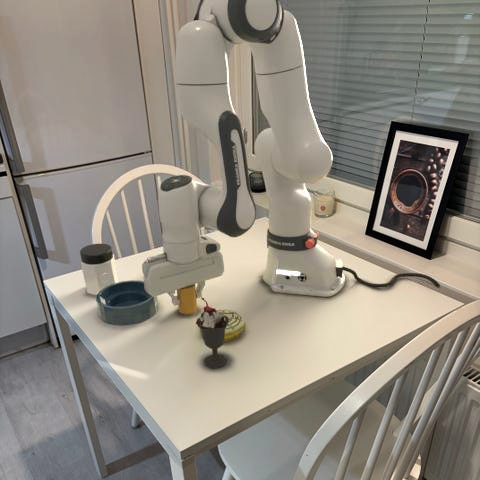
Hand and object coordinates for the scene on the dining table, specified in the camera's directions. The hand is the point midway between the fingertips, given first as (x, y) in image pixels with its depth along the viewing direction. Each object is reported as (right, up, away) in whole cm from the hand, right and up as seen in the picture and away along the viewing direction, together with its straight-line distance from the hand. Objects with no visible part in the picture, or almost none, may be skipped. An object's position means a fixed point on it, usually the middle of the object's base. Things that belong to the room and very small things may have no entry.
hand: (187, 300), depth 121 cm
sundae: (+8, -14, -17) cm, 23 cm away
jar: (-24, +3, +13) cm, 28 cm away
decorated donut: (+9, -8, -7) cm, 14 cm away
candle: (0, -3, +2) cm, 3 cm away
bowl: (-15, -3, +2) cm, 15 cm away
